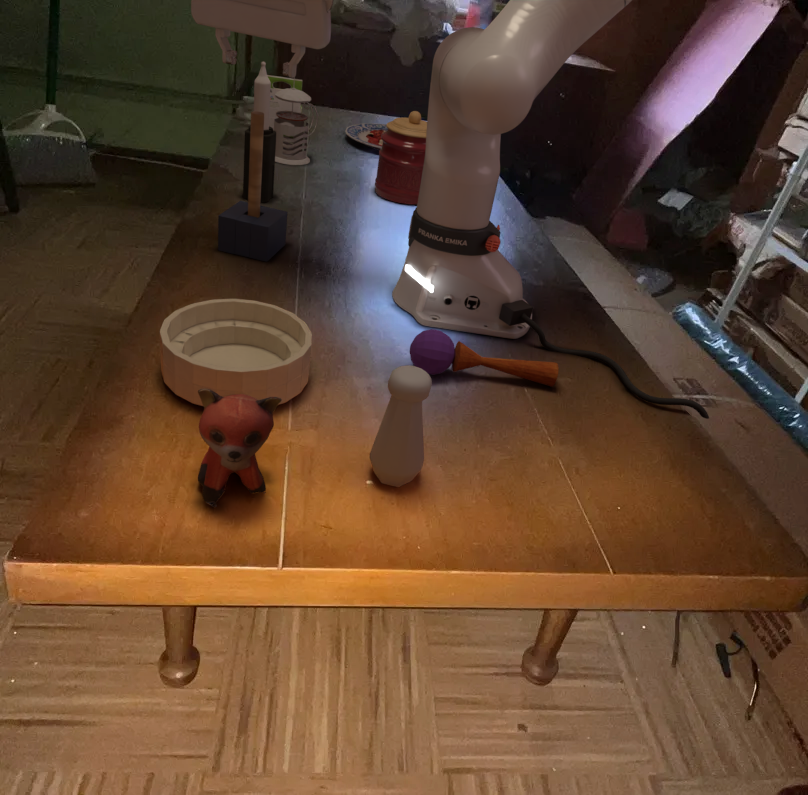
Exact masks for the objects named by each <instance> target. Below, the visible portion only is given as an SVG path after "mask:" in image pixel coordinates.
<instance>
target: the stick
mask: <svg viewBox="0 0 808 795" xmlns="http://www.w3.org/2000/svg"><path fill="white" fill-rule="evenodd" d="M250 125H251V130H250V159H249V189H248V199H247V202H248V215H249V216H253V217H257V218H259V217H260V205H261V203H262V202H261V180H262V157H263V134H264V113H262V112H258V111H254V110H253V111H251V112H250Z"/></svg>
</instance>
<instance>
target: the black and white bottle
mask: <svg viewBox="0 0 808 795" xmlns="http://www.w3.org/2000/svg"><path fill="white" fill-rule="evenodd" d="M266 64H267V63H266V61H261V62H260V70H259V71H258V75H257V76H256V78H255V79H254V86H253V87H254V88H253V89H254V90H253V111H258V112H262V113H264V134H263V157H262V180H261V203H268V202H269V200H271V199H273V198H274V187H275V186H274V185H275V171H276V170H275V167H276V162H275V150H276V131H274V130H273V128H272V127H269V112H270V90H271V82H270V80H269V78H268V76H267V75H268V73H267V69H266ZM250 130H251V124H250V125H248V128H247V129H245V130H244V142H243V143H244V144H243V145H244V146H243V180H242V181H243V182H242V198H243V199H244V200H248V189H249V159H250Z"/></svg>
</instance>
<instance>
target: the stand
mask: <svg viewBox="0 0 808 795" xmlns="http://www.w3.org/2000/svg"><path fill="white" fill-rule="evenodd" d="M288 215H289V214H288V211H287V210H283V209H278V208H275V207H269V206H265V205H261V204H260V217H259V218H257V217H253V216H249V215H248V201H244V200H239V201H238V202H235V203H234V204H233V205H232V206H230V207H229V208H227V209H225V210H224V211H223V212H222V213H220V214H218V215H217V251H218V252H224V253H228V254H232V255H236V256H240V257H245V258H250V259H253V260H257V261H261V262H266V263H267V262H269V261H270V260H271V259H272V258H273V257H274V256H275V255H276V254H277V253H278V252H280V251H281V249H283V248H284V247H285V246H286V243H287V226H288Z"/></svg>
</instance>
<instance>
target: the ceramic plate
mask: <svg viewBox="0 0 808 795" xmlns="http://www.w3.org/2000/svg"><path fill="white" fill-rule="evenodd" d="M386 125H387V123H386V124H385V123H373V122H372V123H370V122H369V123H368V122H367V123H356V124H351V125H349V126H347V127H346V128H345V131H344V133H345V134H346V135H347V137H349V138H350V139H352V140H353V141H355V142H358V143H360V144H363V145H365V146H366V147H369V148H370V149H373V150H376V151H379V150H380V149H381V148H382V144H383V140H382V139H381V134H382V133H384V132H386V131H387V130H388V128H387V126H386Z"/></svg>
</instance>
